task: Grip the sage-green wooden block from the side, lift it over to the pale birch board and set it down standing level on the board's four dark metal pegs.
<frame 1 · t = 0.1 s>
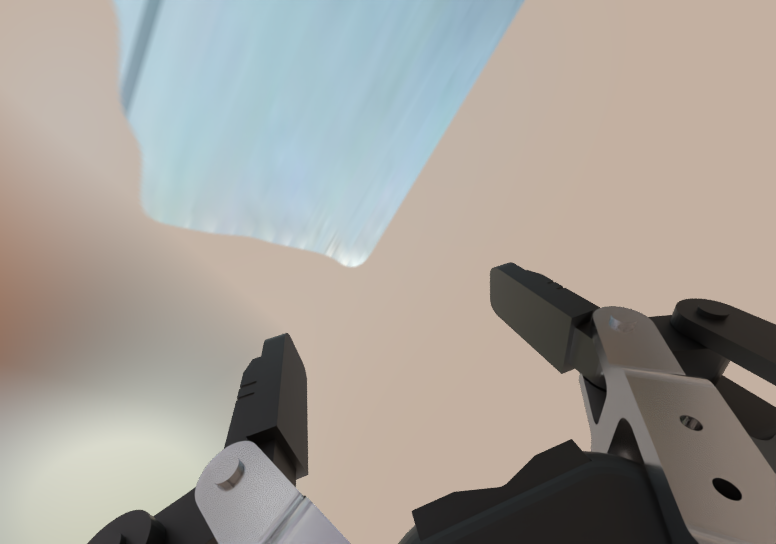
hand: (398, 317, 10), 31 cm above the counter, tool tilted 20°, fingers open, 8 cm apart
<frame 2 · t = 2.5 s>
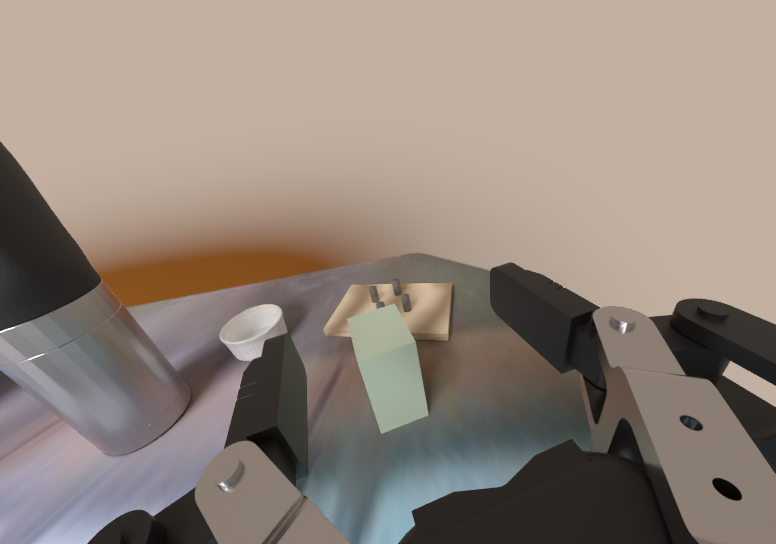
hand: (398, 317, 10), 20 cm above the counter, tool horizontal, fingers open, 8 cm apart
peg board: (392, 311, 43), on the counter
green block: (396, 399, 30), on the counter
ramekin: (263, 344, 42), on the counter
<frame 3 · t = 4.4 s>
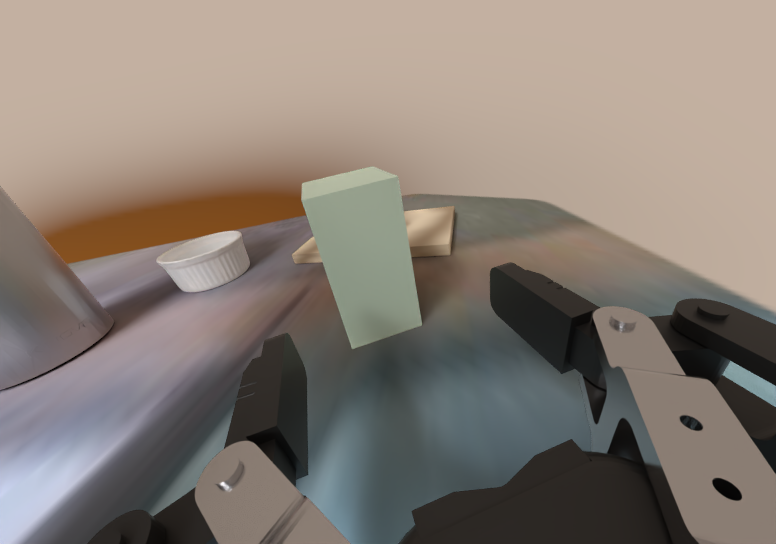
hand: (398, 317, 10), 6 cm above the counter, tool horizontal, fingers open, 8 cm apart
peg board: (380, 237, 35), on the counter
green block: (377, 312, 21), on the counter
ramekin: (219, 277, 34), on the counter
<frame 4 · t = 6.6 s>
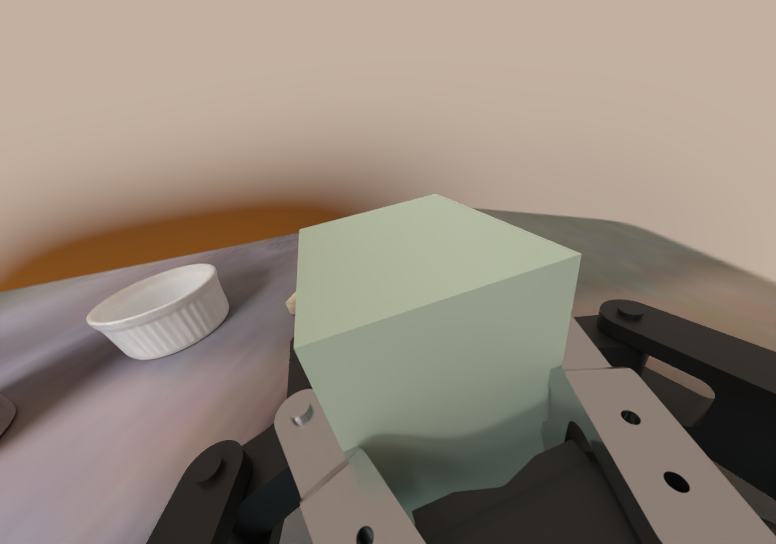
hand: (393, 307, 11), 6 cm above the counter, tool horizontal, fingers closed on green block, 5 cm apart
green block: (434, 452, 12), on the counter, touching gripper
ramekin: (185, 330, 25), on the counter
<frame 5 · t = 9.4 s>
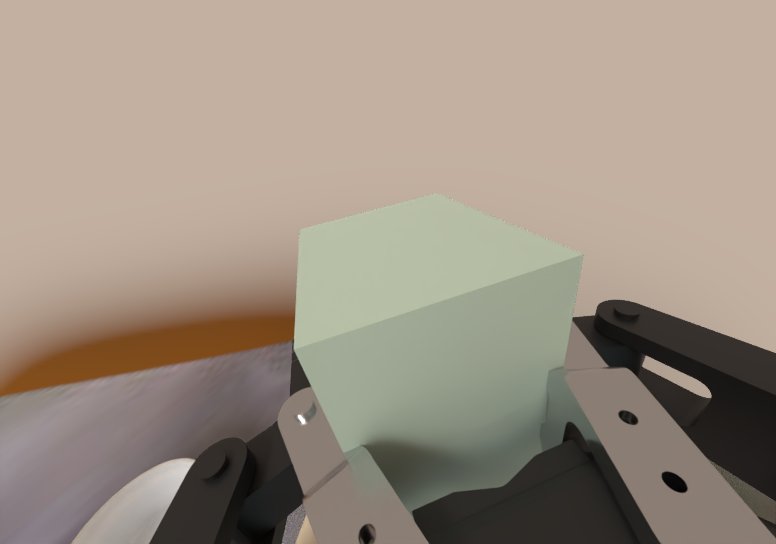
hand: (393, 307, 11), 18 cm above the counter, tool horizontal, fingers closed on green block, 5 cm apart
peg board: (439, 475, 21), on the counter
green block: (435, 452, 12), point 12 cm above the counter, touching gripper
when the fingers open (11 cm above the counter, at t = 11.9 s): green block drops 1 cm, resting on peg board.
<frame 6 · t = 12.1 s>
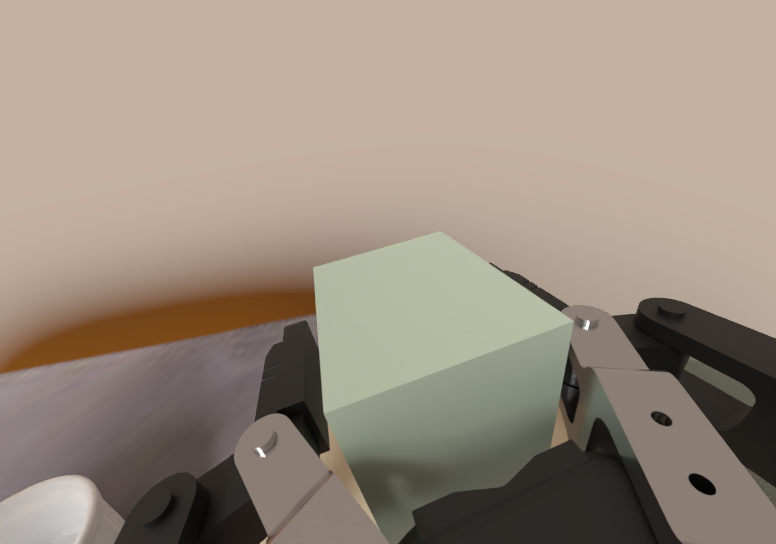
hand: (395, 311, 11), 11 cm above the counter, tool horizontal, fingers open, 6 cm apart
peg board: (444, 506, 14), on the counter
green block: (438, 470, 12), point 4 cm above the counter, touching peg board
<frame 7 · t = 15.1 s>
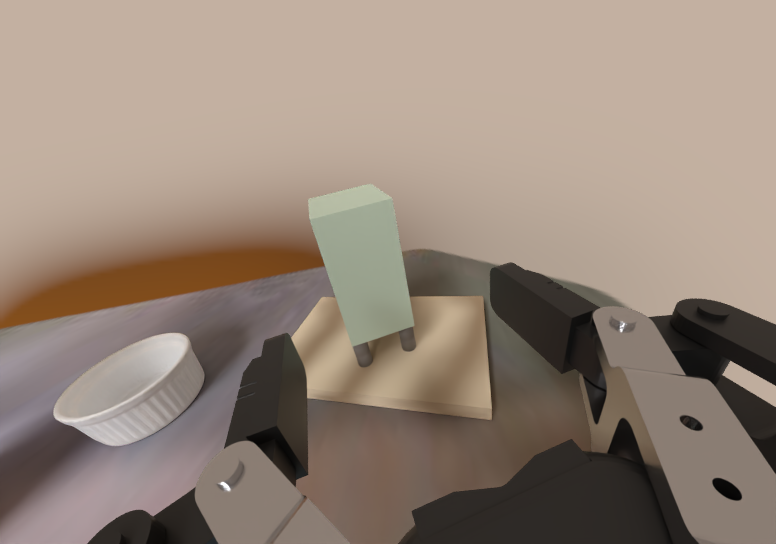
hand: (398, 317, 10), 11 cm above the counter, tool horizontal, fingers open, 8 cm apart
peg board: (382, 345, 25), on the counter
green block: (375, 314, 23), point 4 cm above the counter, touching peg board
ramekin: (159, 403, 24), on the counter
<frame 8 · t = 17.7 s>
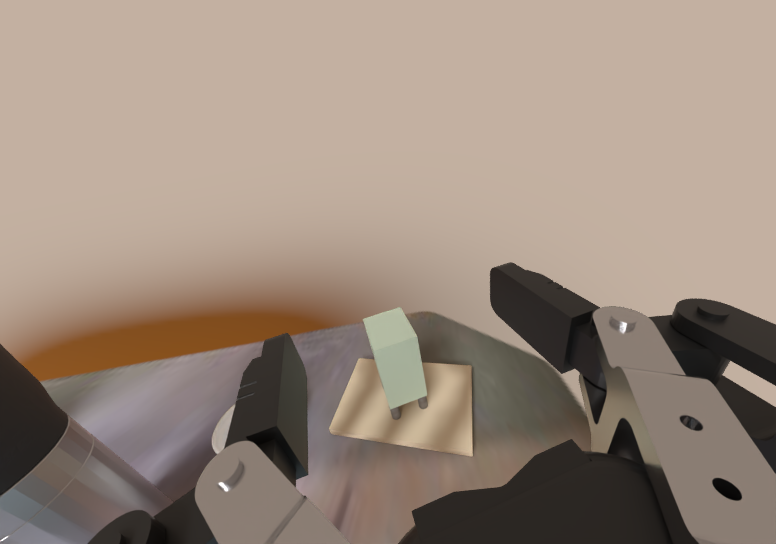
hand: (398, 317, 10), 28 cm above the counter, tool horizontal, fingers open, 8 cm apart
peg board: (405, 400, 39), on the counter
green block: (401, 383, 37), point 4 cm above the counter, touching peg board
ramekin: (261, 439, 38), on the counter
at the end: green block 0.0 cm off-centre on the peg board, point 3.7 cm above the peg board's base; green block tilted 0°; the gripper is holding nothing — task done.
